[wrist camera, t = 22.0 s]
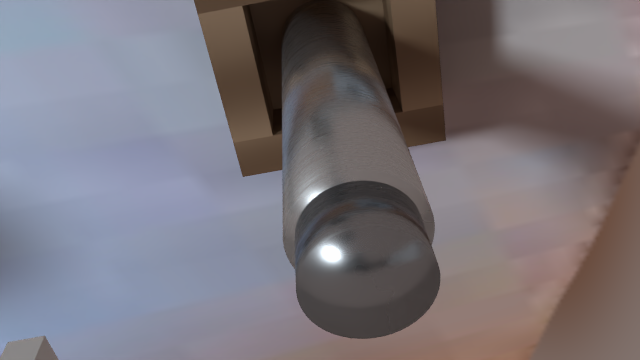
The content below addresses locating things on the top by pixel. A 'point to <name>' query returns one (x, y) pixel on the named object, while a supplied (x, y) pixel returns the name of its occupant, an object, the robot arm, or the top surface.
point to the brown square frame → (266, 68)
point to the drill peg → (349, 183)
